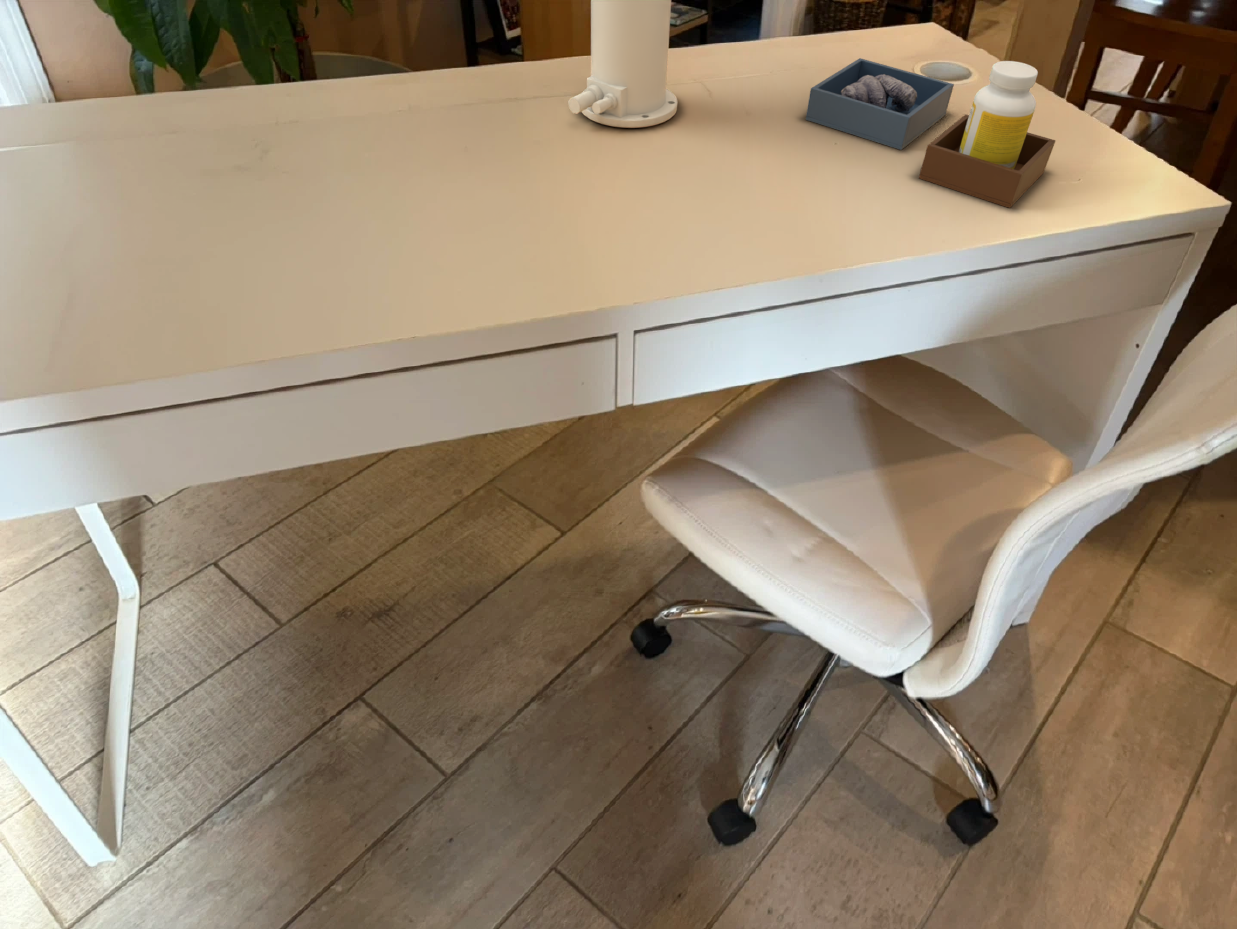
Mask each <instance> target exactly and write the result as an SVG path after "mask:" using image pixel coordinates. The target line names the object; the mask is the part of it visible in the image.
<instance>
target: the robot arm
mask: <svg viewBox="0 0 1237 929" xmlns="http://www.w3.org/2000/svg"><path fill="white" fill-rule="evenodd" d="M671 11H672V0H590V76H588V77H587V78H586V88H584V90H583V91H581V93H579V94H577V95H576V94H575V96H572V97H571V98H569V99H568V101H567V107H568V109H569V111H570V112H571V113H572V114H573V115H576V114H577V115H578V114H580V113H582V114H583V115H584V116H585V117H586V118H588V119H589V120H591V121H593V122H595V123H598V124H601V125H604V126H609V127H615V128H623V129H624V128H628V129H635V128H647V127H652V126H656V125H659V124H662V123H665V122H666V121H668V120H671V119H672V117H674V116H675V115H676V113H677V111H678V98H677V96H676V95H675V93H673V91H671V90H670V89H668V88H667V80H668V79H667V78H668V65H669V64H668V63H669V46H670V45H669V44H670V29H671Z"/></svg>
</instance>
